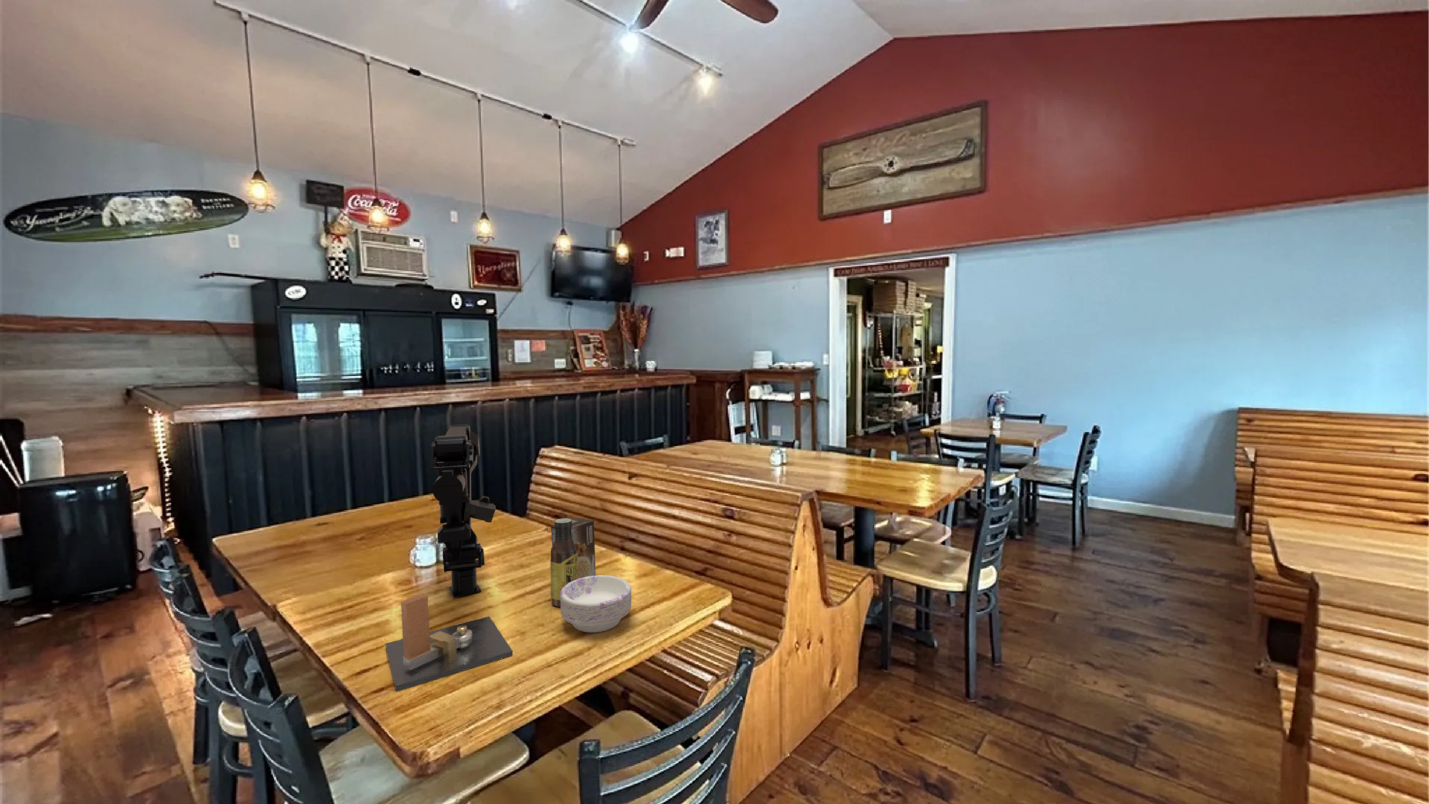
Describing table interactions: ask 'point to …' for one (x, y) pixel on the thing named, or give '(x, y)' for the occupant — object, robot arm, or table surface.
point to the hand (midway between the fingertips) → (456, 560)
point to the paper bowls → (595, 602)
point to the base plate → (479, 652)
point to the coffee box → (582, 545)
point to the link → (422, 633)
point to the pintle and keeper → (448, 643)
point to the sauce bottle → (562, 559)
